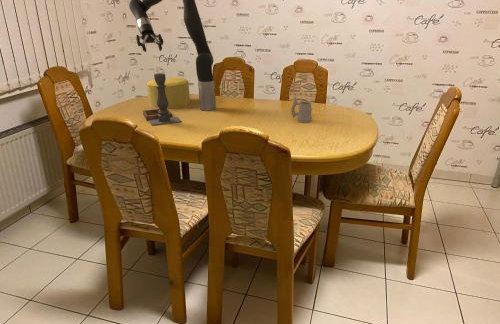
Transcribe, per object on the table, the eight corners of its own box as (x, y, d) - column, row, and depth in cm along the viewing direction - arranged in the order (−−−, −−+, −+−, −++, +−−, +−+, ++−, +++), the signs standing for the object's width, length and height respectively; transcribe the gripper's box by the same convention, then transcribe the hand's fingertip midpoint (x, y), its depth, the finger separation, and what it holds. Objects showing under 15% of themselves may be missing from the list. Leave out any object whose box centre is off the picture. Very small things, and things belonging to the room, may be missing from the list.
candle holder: (167, 122, 202) (162, 75, 193) (156, 121, 203) (151, 75, 194) (171, 119, 208) (167, 73, 198) (161, 118, 209) (156, 73, 199)
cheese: (159, 98, 259) (157, 76, 254) (195, 99, 254) (193, 77, 249) (142, 107, 236) (139, 83, 230) (181, 109, 231) (179, 84, 225)
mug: (308, 123, 199) (309, 101, 194) (288, 120, 204) (288, 99, 199) (313, 120, 205) (314, 98, 200) (293, 117, 210) (294, 96, 206)
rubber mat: (177, 117, 213) (177, 116, 213) (181, 122, 204) (181, 121, 204) (148, 121, 207) (148, 119, 207) (151, 125, 199) (151, 124, 198)
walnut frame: (167, 112, 225) (166, 107, 224) (172, 117, 213) (171, 113, 212) (143, 114, 220) (142, 110, 219) (146, 120, 208) (146, 116, 207)
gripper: (133, 23, 208) (141, 46, 203) (158, 22, 214) (166, 45, 209) (132, 33, 214) (139, 55, 209) (156, 32, 221) (164, 54, 216)
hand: (153, 50), depth 209 cm, fingers open, 8 cm apart
